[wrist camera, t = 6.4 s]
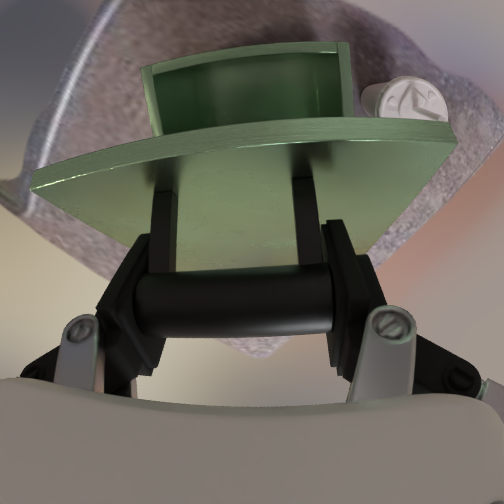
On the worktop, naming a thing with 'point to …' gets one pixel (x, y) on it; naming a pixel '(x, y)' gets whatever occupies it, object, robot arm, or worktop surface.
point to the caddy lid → (247, 214)
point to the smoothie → (404, 100)
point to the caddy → (249, 86)
